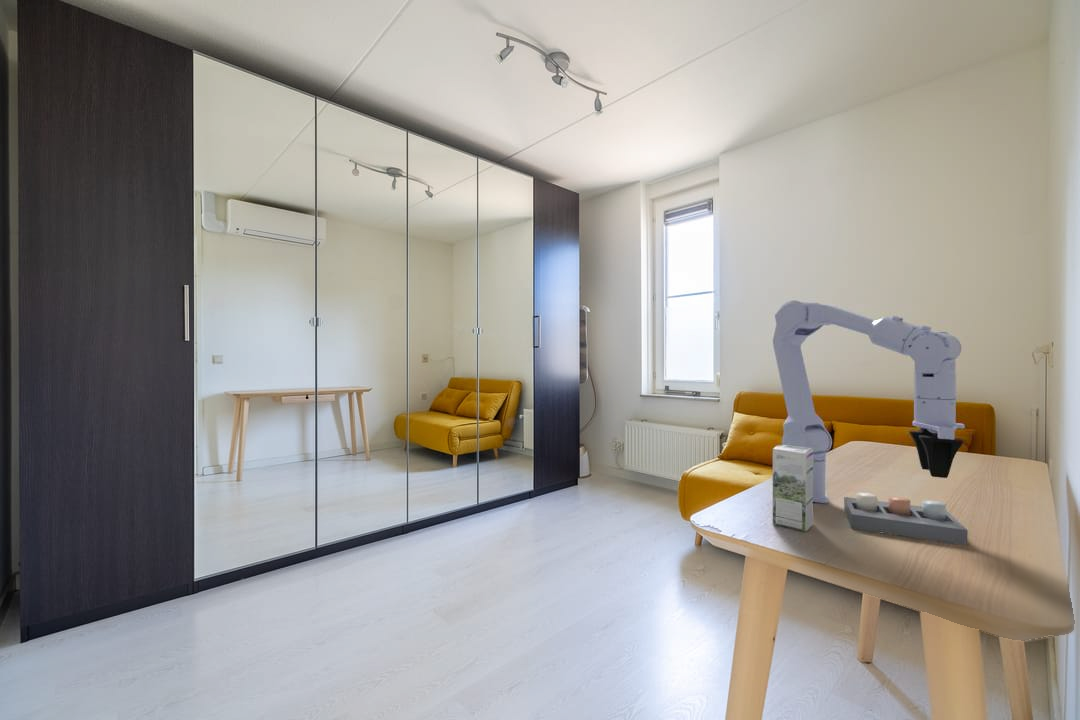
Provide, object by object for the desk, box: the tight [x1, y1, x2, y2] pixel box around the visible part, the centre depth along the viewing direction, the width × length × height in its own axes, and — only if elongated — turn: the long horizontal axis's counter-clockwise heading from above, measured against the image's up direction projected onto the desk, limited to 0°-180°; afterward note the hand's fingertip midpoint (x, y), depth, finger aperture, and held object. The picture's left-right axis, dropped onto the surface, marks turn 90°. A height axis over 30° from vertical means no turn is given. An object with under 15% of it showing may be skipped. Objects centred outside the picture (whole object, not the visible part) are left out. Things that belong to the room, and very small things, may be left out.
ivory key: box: [855, 492, 878, 512], centre depth 87 cm, size 3×3×3 cm
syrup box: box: [772, 444, 814, 532], centre depth 85 cm, size 6×6×14 cm
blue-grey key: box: [921, 499, 947, 521], centre depth 82 cm, size 3×3×3 cm
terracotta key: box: [887, 495, 911, 516], centre depth 85 cm, size 3×3×3 cm
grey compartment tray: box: [843, 496, 969, 547], centre depth 85 cm, size 16×12×3 cm
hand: (934, 473), depth 82 cm, fingers open, 5 cm apart
